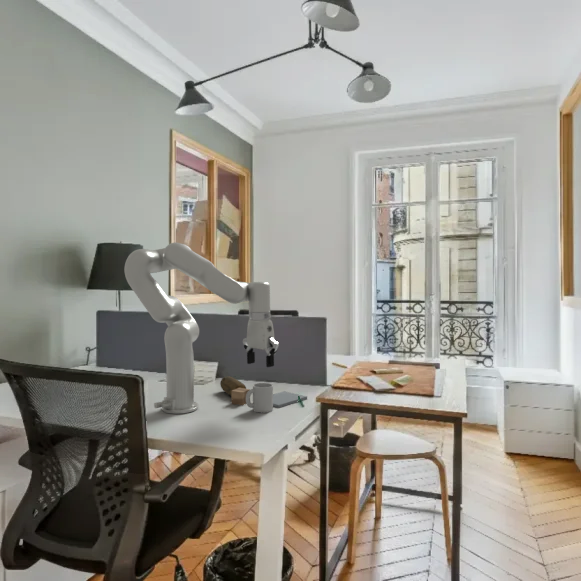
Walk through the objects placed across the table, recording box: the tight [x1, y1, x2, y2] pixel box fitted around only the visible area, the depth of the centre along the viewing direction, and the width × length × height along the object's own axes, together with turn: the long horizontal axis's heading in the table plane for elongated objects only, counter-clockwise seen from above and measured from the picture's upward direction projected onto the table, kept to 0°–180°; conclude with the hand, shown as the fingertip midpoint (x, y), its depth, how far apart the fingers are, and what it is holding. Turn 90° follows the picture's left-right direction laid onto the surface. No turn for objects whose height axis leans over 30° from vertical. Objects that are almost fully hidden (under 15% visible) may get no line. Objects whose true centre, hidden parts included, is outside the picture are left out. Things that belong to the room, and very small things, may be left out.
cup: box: [245, 382, 274, 414], centre depth 163 cm, size 7×10×9 cm
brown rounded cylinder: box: [219, 375, 247, 397], centre depth 184 cm, size 15×7×7 cm, turn 34°
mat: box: [273, 390, 308, 409], centre depth 176 cm, size 16×12×1 cm
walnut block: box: [231, 388, 251, 406], centre depth 172 cm, size 5×5×5 cm
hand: (260, 364), depth 162 cm, fingers open, 9 cm apart
